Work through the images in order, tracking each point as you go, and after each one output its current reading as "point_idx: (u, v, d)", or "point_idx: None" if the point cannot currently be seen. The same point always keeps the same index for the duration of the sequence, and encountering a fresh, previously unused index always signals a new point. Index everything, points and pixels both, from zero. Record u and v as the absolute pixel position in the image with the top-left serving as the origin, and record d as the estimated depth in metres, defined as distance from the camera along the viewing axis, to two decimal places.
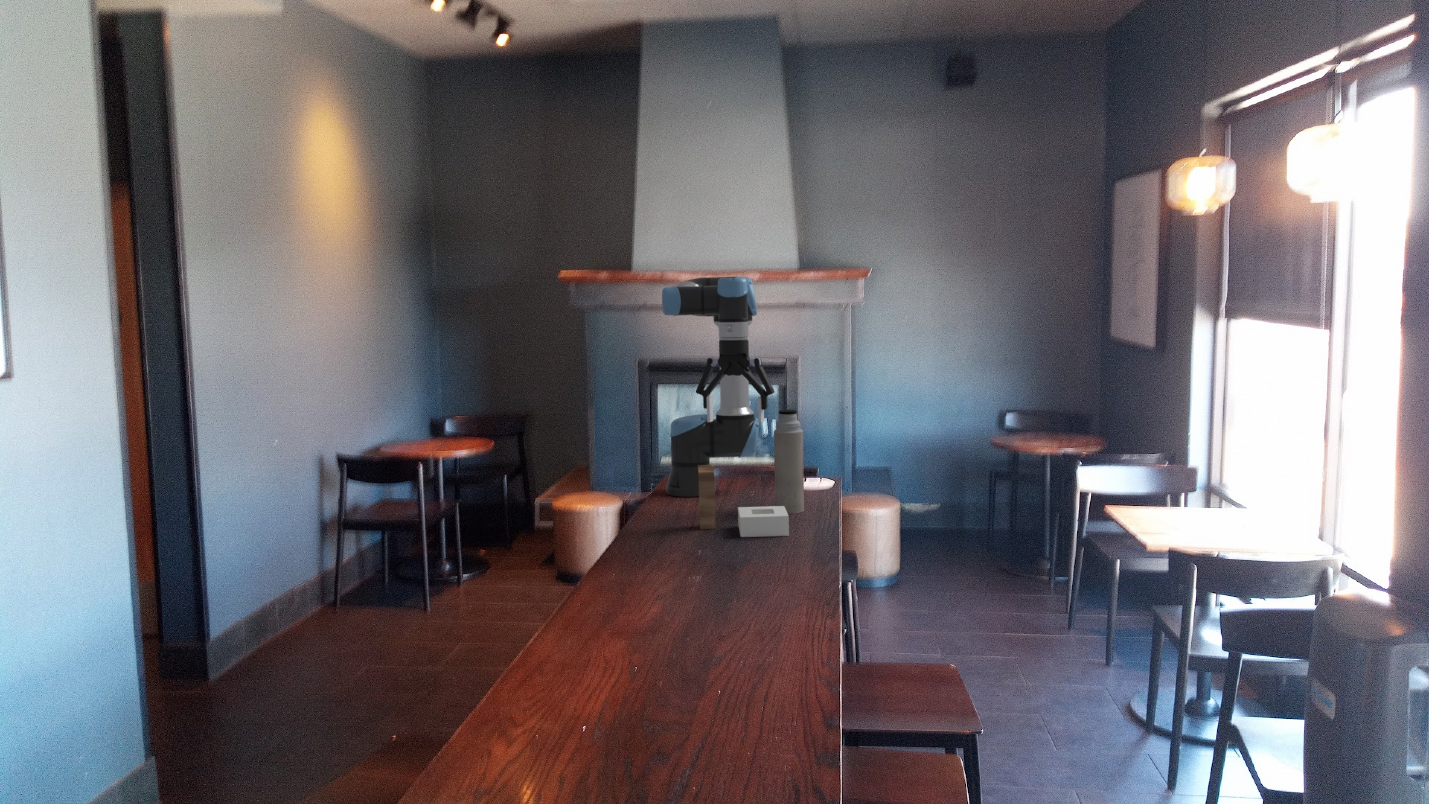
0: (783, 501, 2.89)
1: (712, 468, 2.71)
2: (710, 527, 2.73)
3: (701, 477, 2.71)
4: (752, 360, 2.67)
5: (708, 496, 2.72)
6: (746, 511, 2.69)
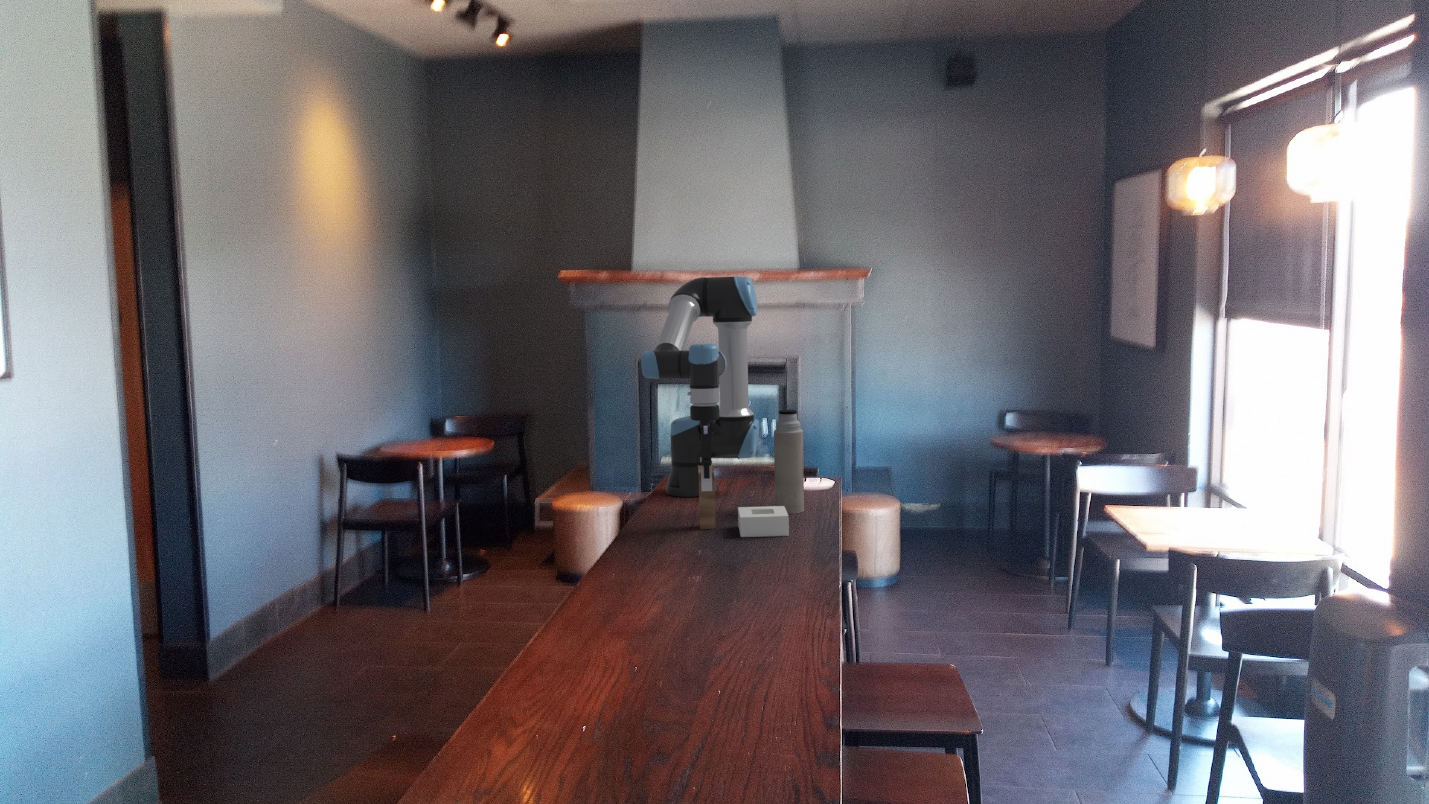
0: (783, 501, 2.89)
1: (712, 468, 2.71)
2: (710, 527, 2.73)
3: None
4: None
5: (708, 496, 2.72)
6: (746, 511, 2.69)
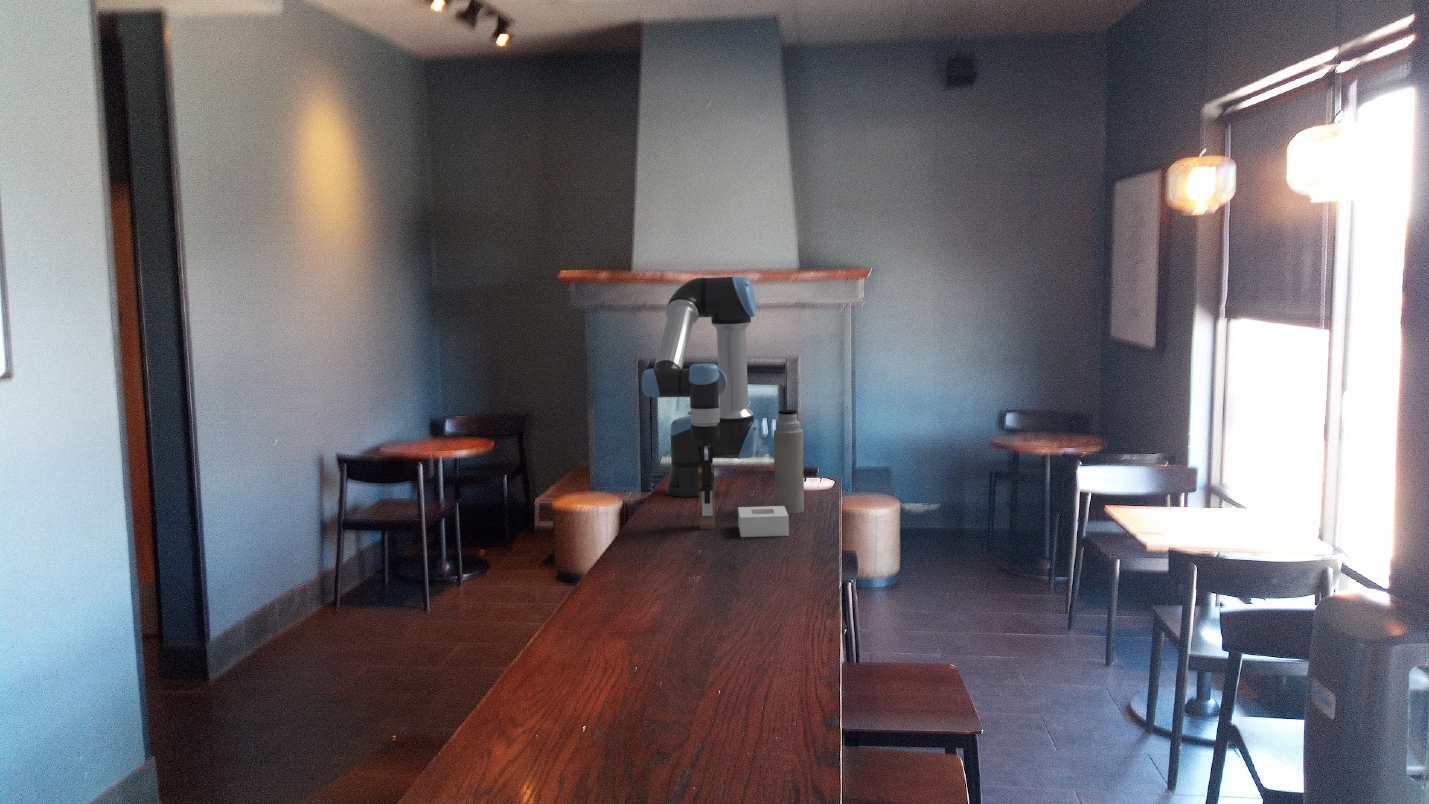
0: (783, 501, 2.89)
1: (712, 468, 2.71)
2: (710, 527, 2.73)
3: (701, 477, 2.71)
4: (704, 451, 2.68)
5: None
6: (746, 511, 2.69)
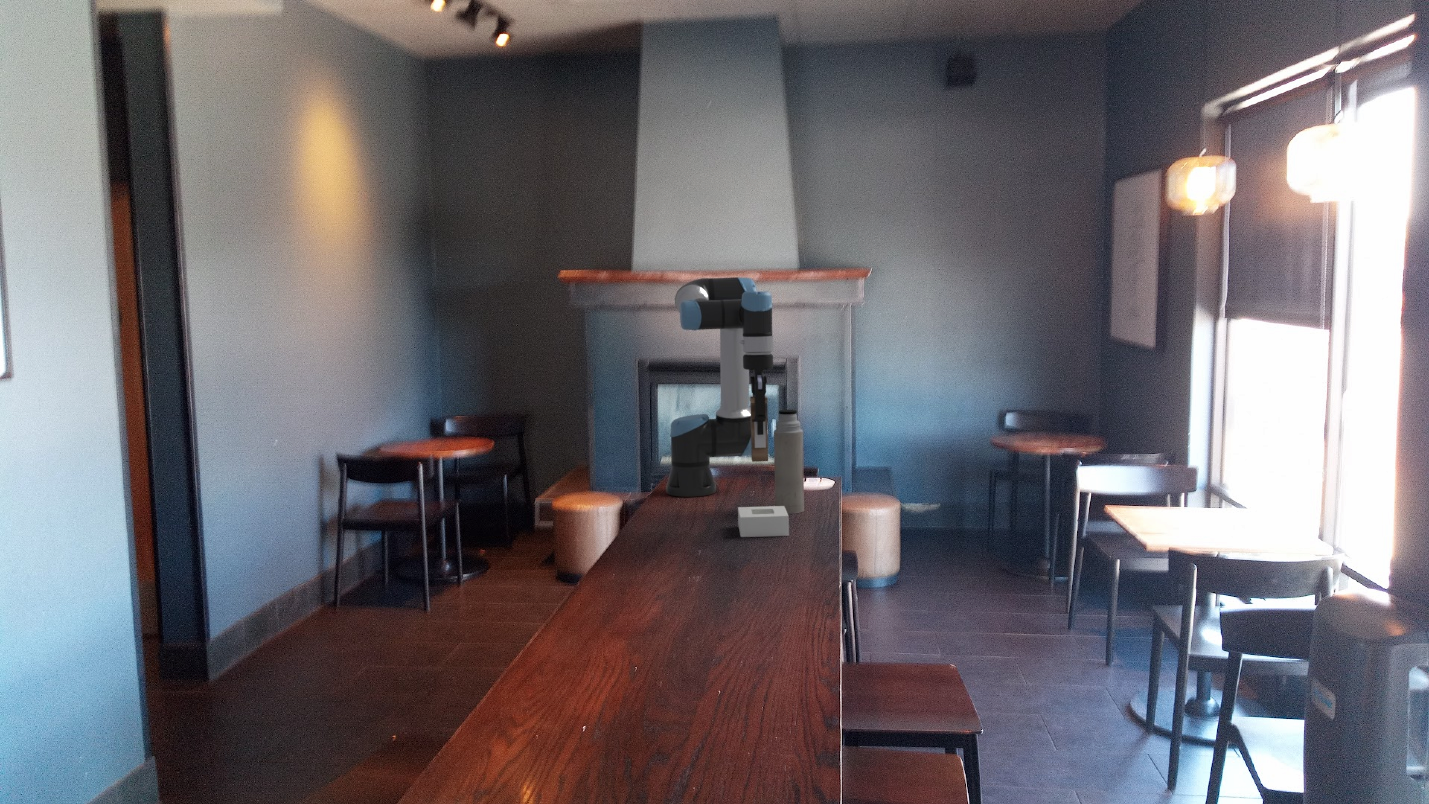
0: (783, 501, 2.89)
1: (765, 398, 2.64)
2: (763, 460, 2.65)
3: (753, 408, 2.64)
4: (757, 380, 2.60)
5: None
6: (746, 511, 2.69)
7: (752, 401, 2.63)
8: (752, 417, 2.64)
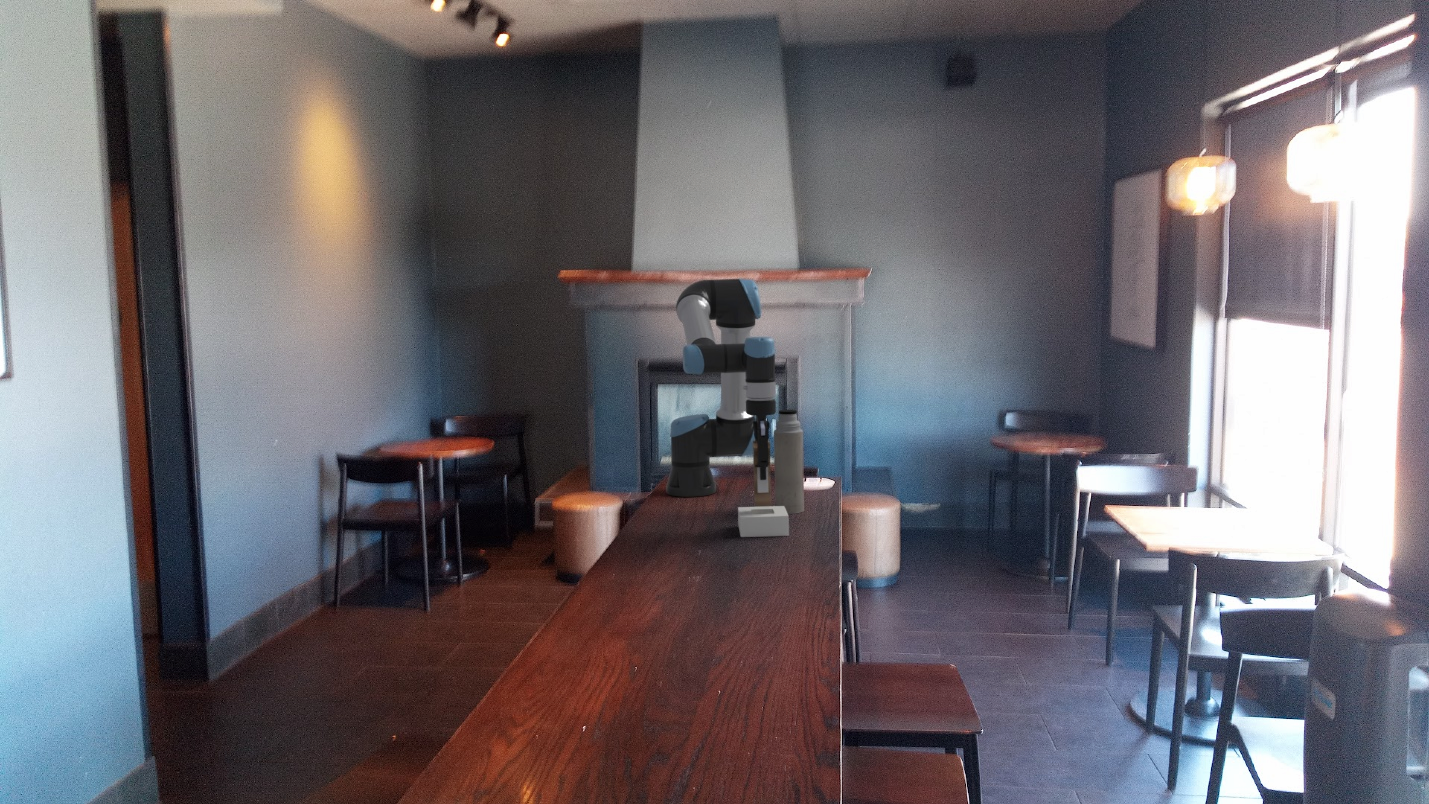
0: (783, 501, 2.89)
1: (768, 444, 2.65)
2: (765, 504, 2.66)
3: (756, 453, 2.65)
4: (760, 426, 2.61)
5: None
6: (746, 511, 2.69)
7: (755, 446, 2.65)
8: (755, 462, 2.65)
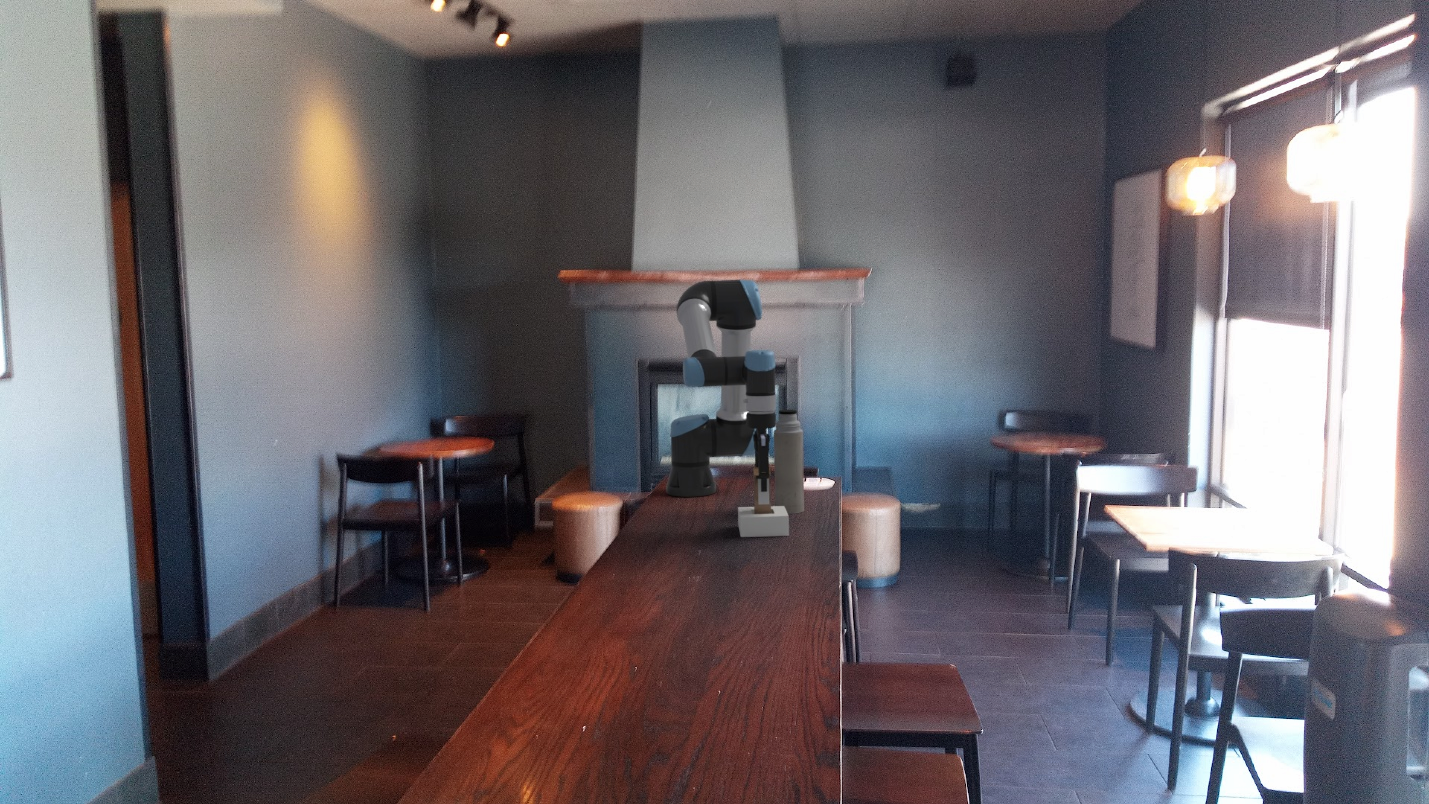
0: (783, 501, 2.89)
1: None
2: None
3: (756, 480, 2.66)
4: None
5: None
6: (746, 511, 2.69)
7: (755, 473, 2.65)
8: (755, 489, 2.66)
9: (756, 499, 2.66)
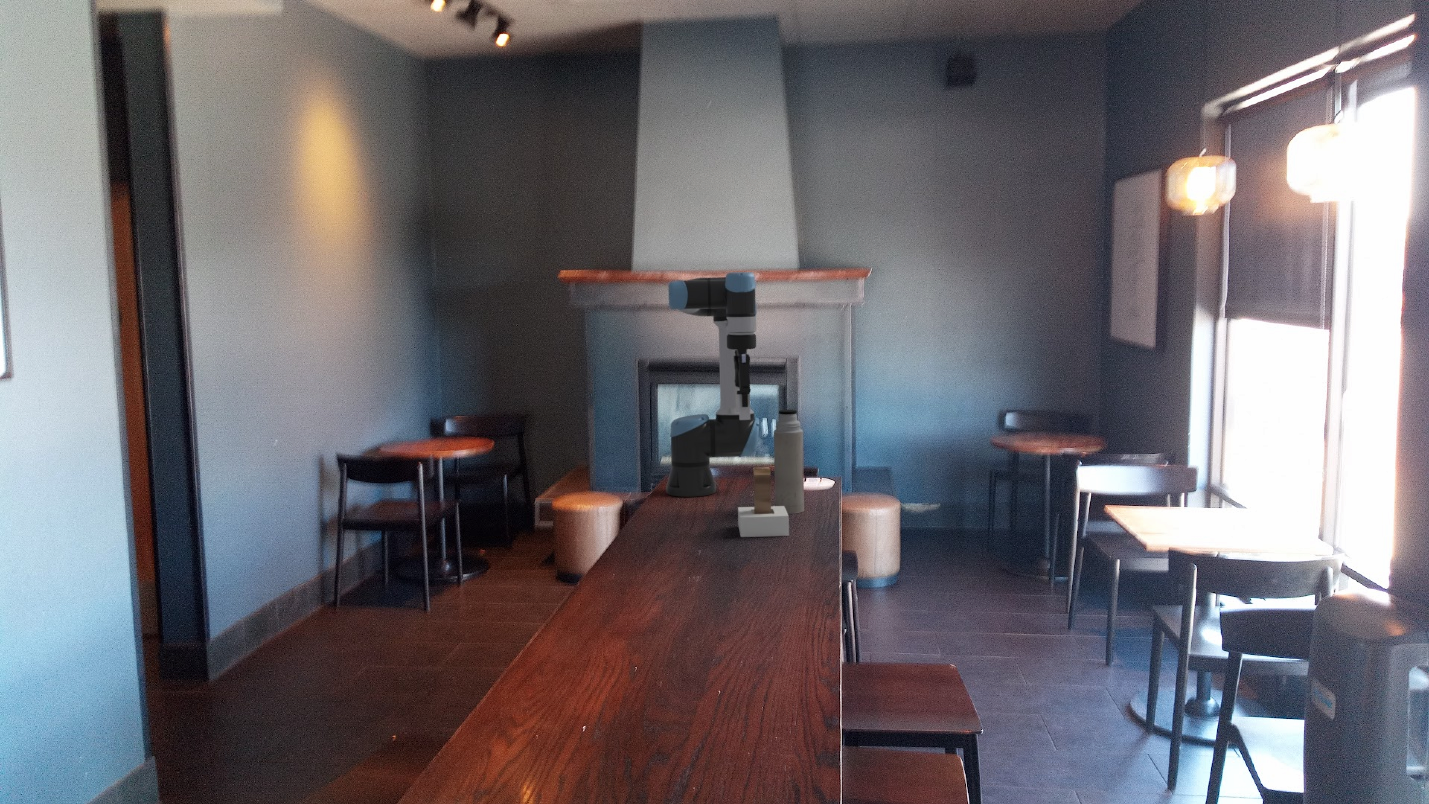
0: (783, 501, 2.89)
1: (768, 471, 2.66)
2: None
3: (756, 480, 2.66)
4: None
5: (764, 499, 2.66)
6: (746, 511, 2.69)
7: (755, 473, 2.66)
8: (755, 489, 2.66)
9: (756, 499, 2.66)
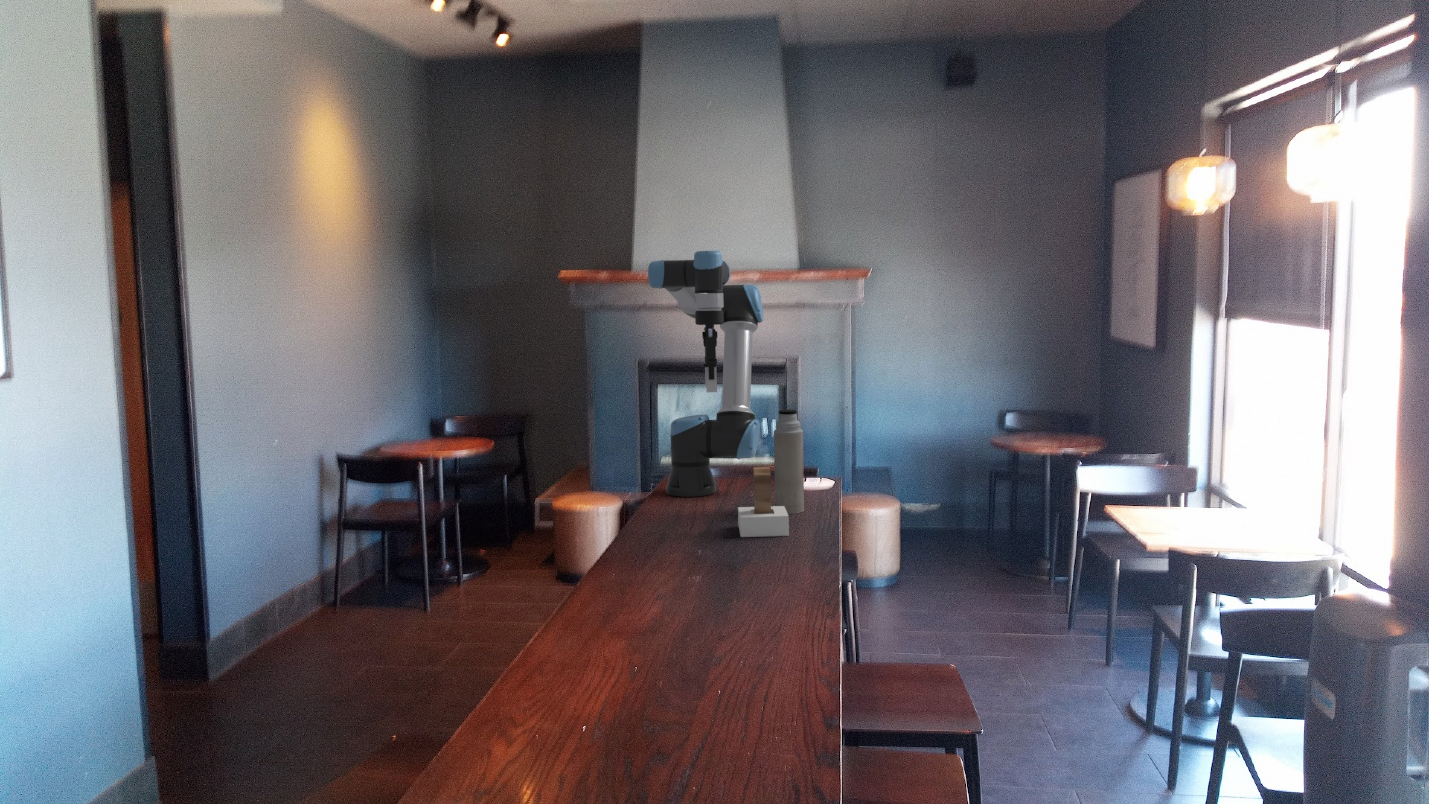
0: (783, 501, 2.89)
1: (768, 471, 2.66)
2: None
3: (756, 480, 2.66)
4: None
5: (764, 499, 2.66)
6: (746, 511, 2.69)
7: (755, 473, 2.66)
8: (755, 489, 2.66)
9: (756, 499, 2.66)
